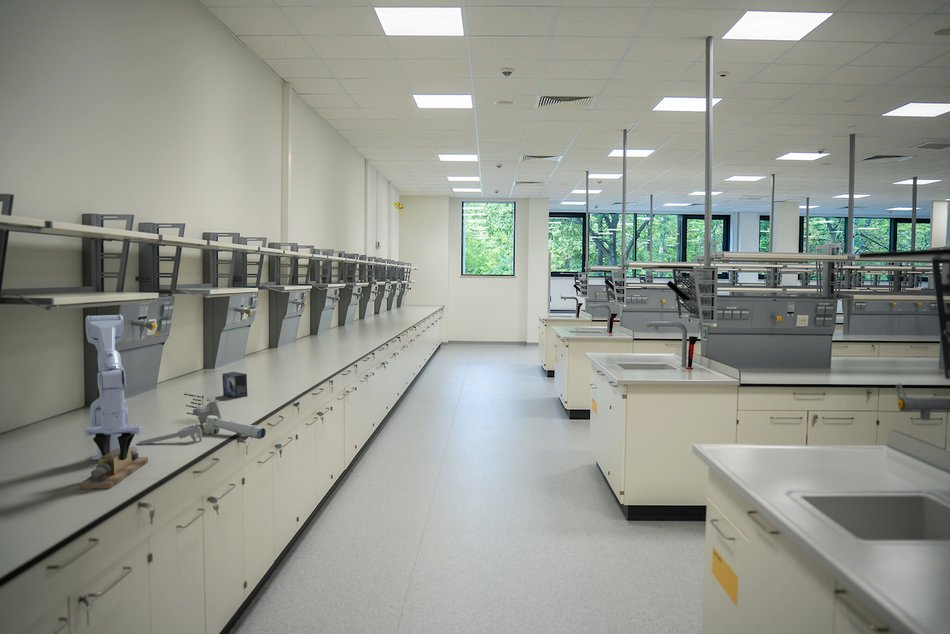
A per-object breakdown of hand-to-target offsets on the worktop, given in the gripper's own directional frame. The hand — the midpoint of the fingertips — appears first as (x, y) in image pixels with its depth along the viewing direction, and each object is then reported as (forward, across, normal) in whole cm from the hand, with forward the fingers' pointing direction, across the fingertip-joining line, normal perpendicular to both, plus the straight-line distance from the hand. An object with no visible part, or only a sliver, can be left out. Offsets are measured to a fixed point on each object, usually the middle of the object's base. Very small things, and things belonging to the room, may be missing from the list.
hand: (115, 459), depth 171 cm
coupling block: (+3, 0, 0) cm, 3 cm away
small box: (+5, +1, +108) cm, 108 cm away
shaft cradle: (+4, 0, 0) cm, 4 cm away
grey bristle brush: (+5, +3, +60) cm, 60 cm away
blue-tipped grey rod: (+5, +20, +40) cm, 45 cm away
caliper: (+5, +2, +32) cm, 32 cm away
